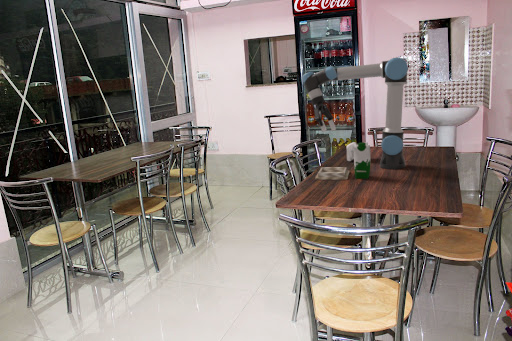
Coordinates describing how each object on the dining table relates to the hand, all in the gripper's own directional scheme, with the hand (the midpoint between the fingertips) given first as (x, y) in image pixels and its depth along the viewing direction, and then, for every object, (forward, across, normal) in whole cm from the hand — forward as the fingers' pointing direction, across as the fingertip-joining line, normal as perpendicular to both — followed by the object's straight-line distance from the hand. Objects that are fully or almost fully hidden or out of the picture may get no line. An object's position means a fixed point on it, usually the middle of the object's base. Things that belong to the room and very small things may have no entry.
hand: (329, 130), depth 254 cm
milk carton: (+32, +2, +9) cm, 34 cm away
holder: (+25, +4, -7) cm, 27 cm away
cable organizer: (+21, -42, -7) cm, 48 cm away
